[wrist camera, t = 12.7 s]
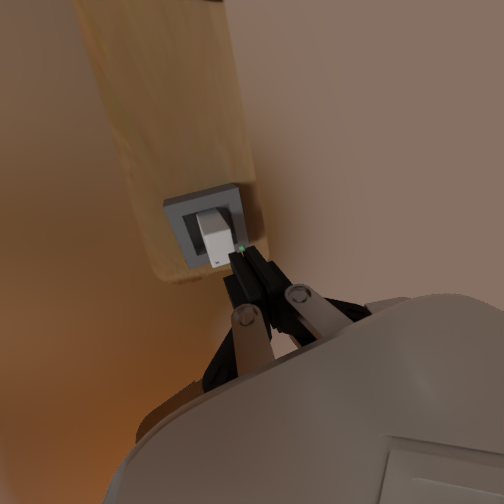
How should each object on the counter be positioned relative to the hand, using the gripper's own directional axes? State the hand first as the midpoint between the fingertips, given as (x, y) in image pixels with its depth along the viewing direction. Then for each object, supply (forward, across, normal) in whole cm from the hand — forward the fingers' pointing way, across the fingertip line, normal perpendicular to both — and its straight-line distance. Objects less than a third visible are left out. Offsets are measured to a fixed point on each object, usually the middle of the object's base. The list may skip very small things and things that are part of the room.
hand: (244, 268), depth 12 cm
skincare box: (+29, 0, +8) cm, 30 cm away
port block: (+29, 0, +8) cm, 30 cm away
